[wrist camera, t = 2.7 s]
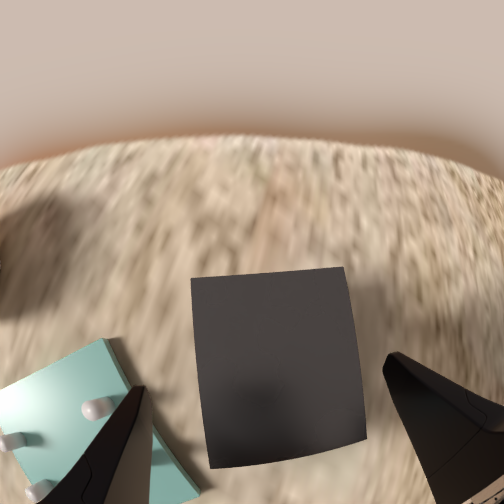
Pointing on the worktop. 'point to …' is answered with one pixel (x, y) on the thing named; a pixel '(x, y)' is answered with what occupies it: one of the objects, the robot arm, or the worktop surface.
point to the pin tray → (77, 423)
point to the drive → (276, 365)
